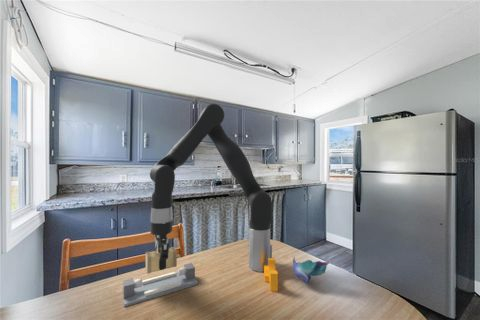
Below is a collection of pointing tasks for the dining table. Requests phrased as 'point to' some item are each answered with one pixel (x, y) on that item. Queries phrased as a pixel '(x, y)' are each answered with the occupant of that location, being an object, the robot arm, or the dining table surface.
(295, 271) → the figurine
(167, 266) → the tan tapered block
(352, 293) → the dining table surface
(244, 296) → the dining table surface
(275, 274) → the pipe clamp
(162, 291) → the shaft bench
